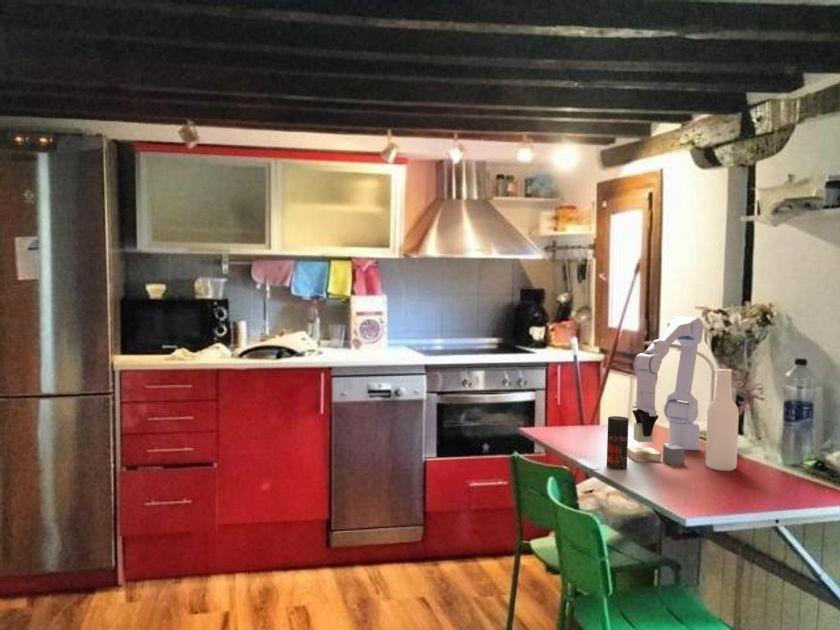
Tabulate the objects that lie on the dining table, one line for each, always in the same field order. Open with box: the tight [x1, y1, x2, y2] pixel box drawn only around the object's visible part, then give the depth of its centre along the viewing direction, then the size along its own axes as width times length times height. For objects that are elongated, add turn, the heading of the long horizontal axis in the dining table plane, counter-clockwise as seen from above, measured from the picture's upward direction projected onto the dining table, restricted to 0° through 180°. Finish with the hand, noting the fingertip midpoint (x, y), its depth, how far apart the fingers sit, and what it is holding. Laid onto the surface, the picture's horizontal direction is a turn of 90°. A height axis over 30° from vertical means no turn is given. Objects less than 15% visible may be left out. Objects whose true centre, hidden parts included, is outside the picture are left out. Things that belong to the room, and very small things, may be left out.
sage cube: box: [633, 422, 654, 443], centre depth 241 cm, size 4×4×5 cm
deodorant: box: [606, 415, 630, 471], centre depth 229 cm, size 6×6×15 cm
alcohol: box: [704, 368, 740, 472], centre depth 230 cm, size 9×9×30 cm
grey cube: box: [662, 445, 686, 466], centre depth 236 cm, size 4×4×5 cm
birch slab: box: [627, 447, 662, 462], centre depth 241 cm, size 8×8×2 cm
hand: (644, 434), depth 241 cm, fingers closed on sage cube, 4 cm apart
